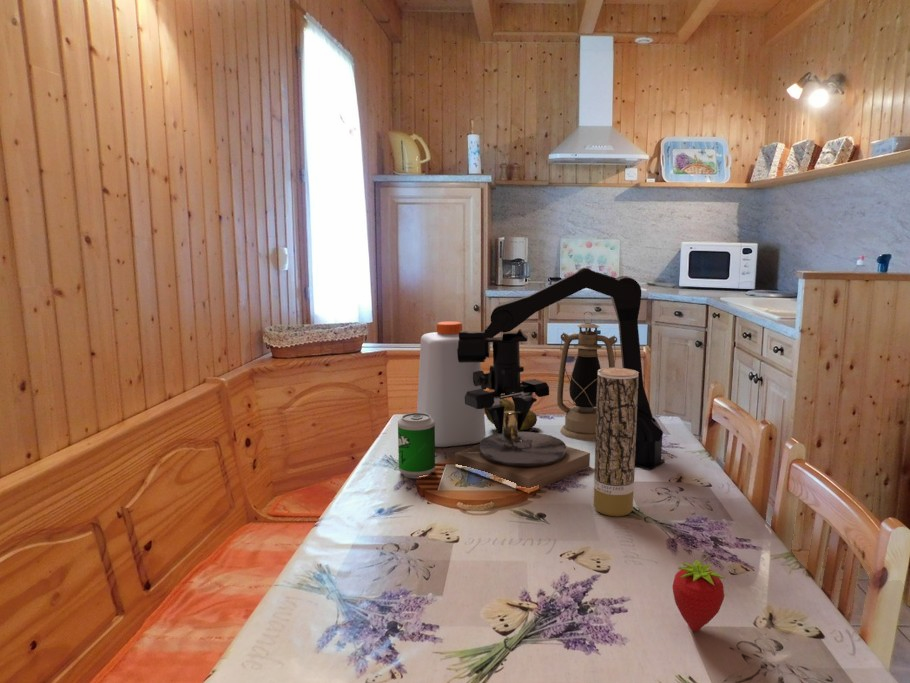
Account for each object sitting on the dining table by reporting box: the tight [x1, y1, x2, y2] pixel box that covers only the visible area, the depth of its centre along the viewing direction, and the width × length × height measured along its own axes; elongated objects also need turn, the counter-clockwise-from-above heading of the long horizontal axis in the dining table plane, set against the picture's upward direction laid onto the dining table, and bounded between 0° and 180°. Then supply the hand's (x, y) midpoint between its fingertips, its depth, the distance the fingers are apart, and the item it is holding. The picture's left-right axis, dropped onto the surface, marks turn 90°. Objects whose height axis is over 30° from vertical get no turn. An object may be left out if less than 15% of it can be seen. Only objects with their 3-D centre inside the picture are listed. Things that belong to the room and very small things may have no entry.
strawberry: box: [671, 556, 726, 632], centre depth 77 cm, size 6×8×10 cm
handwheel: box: [479, 411, 567, 467], centre depth 132 cm, size 18×18×6 cm
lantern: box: [556, 311, 618, 441], centre depth 154 cm, size 14×12×30 cm
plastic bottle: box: [416, 320, 487, 448], centre depth 151 cm, size 15×15×28 cm
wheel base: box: [454, 444, 591, 490], centre depth 133 cm, size 20×20×3 cm
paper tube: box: [593, 367, 639, 517], centre depth 110 cm, size 7×7×25 cm
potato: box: [484, 398, 538, 432], centre depth 158 cm, size 8×13×8 cm, turn 74°
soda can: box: [397, 412, 436, 479], centre depth 129 cm, size 8×8×12 cm
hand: (508, 431), depth 138 cm, fingers open, 4 cm apart
